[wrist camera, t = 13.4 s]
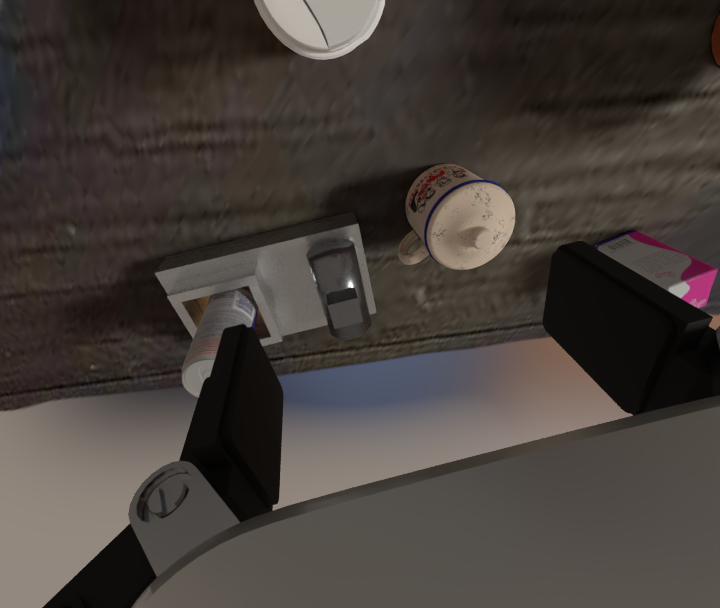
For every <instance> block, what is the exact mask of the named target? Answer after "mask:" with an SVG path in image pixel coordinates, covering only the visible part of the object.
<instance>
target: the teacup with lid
mask: <svg viewBox="0 0 720 608" xmlns="http://www.w3.org/2000/svg"><path fill="white" fill-rule="evenodd" d="M405 209H406V215H407V219H408V221H409V223H410V225H411V226H412V228H413V230H412V231H411V232H410V233H409V234H407V235H406V236H405V237H404V239H403V240H402V241H401V243H400V245H399V248H398V257H399V259H400V260H401V262H402V263H404V264H406V265H412V264H415V263H418V262H420V261H421V260H423V259H424V258H425V257H427V256H428V255H429V254H430V255H431V257H432V258H433V259H434V260H435V261H436V262H437V263H439V264H440V265H442V266H445V267H447V268H451V269H456V270H465V269H472V268H475V267H478V266H481V265H483V264H485V263H486V262H488V261H490V260H491V259H492V258H494V257H495V256H496V255H497V254H498V253H499V252H500V251H501V250H502V249H503V248H504V246H505V245H506V243H507V242H508V240H509V238H510V236H511V234H512V231H513V228H514V223H515V209H514V205H513V202H512V200H511V197H510V196H509V194H508V193H507V191H506V190H505V189H504V188H503V187H501V186H500V185H498V184H497V183H494V182H492V181H488V180H484V179H482V178H480V177H478V176H476V175H475V174H473V173H471V172H469V171H468V170H466V169H464V168H462V167H460V166H458V165H454V164H440V165H436V166H434V167H431V168H429V169H428V170H426V171H425V172H423V173H422V174H421V175H420V176H419V177H418V178H417V179H416V180H415V181H414V183H413V184H412V186H411V188H410V189H409V192H408V195H407V198H406V205H405ZM419 238H421V239H422V241H423V242H424V243H425V244H424V245H423V246H421V247H420V248H419V249H418V250H416V251H415V252H413V253H411V254H408V255H407V252H408V249H409V248H410V246H411V245H412V244H413V243H414V242H415V241H416V240H417V239H419Z"/></svg>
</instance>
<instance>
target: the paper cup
mask: <svg viewBox="0 0 720 608" xmlns="http://www.w3.org/2000/svg"><path fill="white" fill-rule="evenodd" d="M254 2H255V4H256V7H257V9H258V11H259V13H260V15H261V17H262V18H263V20H264V22H265V23H266V25H267V27H268V28H269V29H270V30H271V31H272V33H273V34H274V35H275V36H276V37H277V38H278V39H279V40H280V41H281V42H282V43H283V44H284V45H285V46H287V47H288V48H290V49H291V50H293V51H294V52H296V53H298V54H300V55H302V56H305V57H309V58H313V59H322V60H324V59H333V58H336V57H340V56H343V55H345V54H346V53H348V52H350V51H352V50H353V49H354V48H356V47H357V46H358V45H359V44H361V43H362V42H364V41H365V40H367V39H368V38H369V37H370V35H371V34H372V32H373V31H374V29H375V28H376V26H377V24H378V22H379V20H380V18H381V15H382V12H383V9H384V6H385V0H254Z"/></svg>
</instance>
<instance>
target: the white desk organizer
mask: <svg viewBox="0 0 720 608" xmlns="http://www.w3.org/2000/svg"><path fill="white" fill-rule="evenodd" d="M155 275H156V276H157V278H158V280H159V281H160V283H161V284H162V286H163V288H164V289H165V291H166V293H167V294H168V295H167V298H168V299H169V301H170V302H171V304H172V306H173V307H174V309H175V310H176V312H177V314H178V315H179V317H180V318H181V320H182V322H183V323H184V325H185V326H186V328H187V330H188V331H189V333H190V334H191V336H192V338H193V339H194V336H195V334H196V331H197V328H198V326H199V323H200V321H201V318H202V316H203V313H204V311H205V308H206V306H207V303H208V301H209V298H210V296H211V295H212V294H217V293H221V292H225V291H229V290H233V289H237V288H241V287H242V288H244V289H246V290H248V291H249V292H251V293H252V295H253V297H254V299H255V301H256V304H257V306H258V313H257V319H256V326H255V332H256V334H257V336H258V338H259V340H260V343H261V345H262V346H265V345H269V344H273V343H277V342H281V341H283V336H284V335H288V334H292V333H296V332H300V331H304V330H309V329H313V328H317V327H321V326H325V325H328V327H329V330H330V333H331V334H332V336H334V337H335V338H338V339H343V340H348V339H354V338H357V337H359V336H361V335H363V334H364V333H366V332H367V331H368V330H369V328H370V326H371V318H370V314H373V313H376V308H375V303H374V298H373V293H372V288H371V283H370V279H369V274H368V269H367V264H366V259H365V254H364V249H363V244H362V239H361V234H360V229H359V224H358V222H357V219H356V217H355V214H354V212H353V211H352V212H348V213H344V214H340V215H336V216H332V217H327V218H323V219H319V220H315V221H311V222H307V223H303V224H298V225H294V226H290V227H286V228H282V229H278V230H274V231H269V232H265V233H261V234H257V235H253V236H249V237H245V238H240V239H236V240H232V241H228V242H224V243H220V244H216V245H211V246H207V247H203V248H199V249H195V250H191V251H187V252H182V253H178V254H174V255H170V256H166V258H165V259H164V260H163V262H162V263H161V265H160V266H159V267H158V269H157V270H156V271H155Z"/></svg>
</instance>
